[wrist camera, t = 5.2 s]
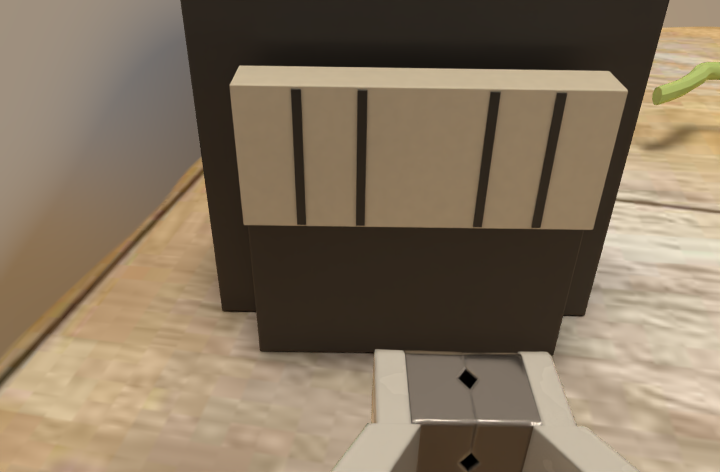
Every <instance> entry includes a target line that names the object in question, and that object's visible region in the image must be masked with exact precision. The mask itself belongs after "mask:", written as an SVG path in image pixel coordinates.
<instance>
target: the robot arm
mask: <svg viewBox="0 0 720 472" xmlns="http://www.w3.org/2000/svg"><path fill="white" fill-rule="evenodd" d="M331 472H640V471H639V470H638V469H637V468H636V467H634V466H633V465H632V464H631V463H630V462H628V461H627V460H626V459H625V458H624V457H622V456H621V455H620V454H619V453H618V452H616V451H615V450H614V449H613V448H612V447H610V446H609V445H608V444H607V443H606V442H604V441H603V440H602V439H601V438H600V437H598V436H597V435H596V434H595V433H594V432H592V431H591V430H590V429H589V428H588V427H586V426H577V424H576V421H575V419H574V416H573V413H572V411H571V408H570V405H569V402H568V400H567V397H566V394H565V392H564V389H563V386H562V383H561V381H560V378H559V375H558V373H557V370H556V367H555V365H554V362H553V359H552V356H551V355H550V354H549V353H548V352H518V353H517V352H452V351H425V350H404V351H403V350H383V349H375V351H374V363H373V384H372V412H371V423H368V424H367V425H366V426H365V428H364V429H363V430H362V432H361V433H360V434H359V435H358V437H357V438H356V439H355V441H354V442H353V443H352V444H351V446H350V447H349V448H348V450H347V451H346V452H345V453H344V455H343V456H342V457H341V459H340V460H339V461H338V463H337V464H336V465H335V466H334V468H333V469H332V470H331Z"/></svg>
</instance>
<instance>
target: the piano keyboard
mask: <svg viewBox="0 0 720 472" xmlns="http://www.w3.org/2000/svg"><path fill="white" fill-rule="evenodd" d="M229 86H230V96H231V106H232V115H233V125H234V135H235V145H236V155H237V164H238V174H239V184H240V194H241V204H242V213H243V223H244V225H277V226H350V227H424V228H497V229H570V230H593V227H594V223H595V219H596V215H597V211H598V207H599V204H600V200H601V196H602V192H603V188H604V184H605V180H606V176H607V172H608V168H609V164H610V160H611V156H612V153H613V149H614V145H615V141H616V137H617V133H618V129H619V125H620V121H621V117H622V113H623V109H624V105H625V101H626V98H627V94H628V90H627V89H626V88H625V87H624V86H623V85H622V84H621V83H620V82H619V81H618V80H617V79H616V78H615V77H614V76H613V74H612V73H611V72H610V71H574V70H506V69H438V68H371V67H303V66H239V67H238V69H237V71H236V73H235V75H234V77H233V79H232V81H231V83H230V85H229Z"/></svg>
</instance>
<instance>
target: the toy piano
mask: <svg viewBox="0 0 720 472" xmlns="http://www.w3.org/2000/svg"><path fill="white" fill-rule="evenodd" d="M180 1H181V8H182V15H183V22H184V30H185V37H186V45H187V51H188V60H189V67H190V74H191V82H192V89H193V96H194V103H195V111H196V119H197V126H198V133H199V141H200V148H201V156H202V163H203V170H204V178H205V185H206V192H207V200H208V207H209V215H210V222H211V229H212V237H213V244H214V252H215V259H216V266H217V274H218V281H219V288H220V296H221V303H222V309H223V310H225V311H256V313H257V323H258V334H259V344H260V350H261V351H317V352H374V351H375V349H383V350H403V351H404V350H425V351H452V352H517V353H518V352H548V353H549V354H554V350H555V346H556V342H557V338H558V334H559V330H560V326H561V322H562V318H563V315H585V311H586V308H587V304H588V300H589V296H590V293H591V289H592V285H593V282H594V278H595V274H596V271H597V267H598V263H599V259H600V256H601V252H602V248H603V245H604V241H605V237H606V233H607V230H608V226H609V222H610V219H611V215H612V211H613V208H614V204H615V200H616V196H617V193H618V189H619V185H620V182H621V178H622V174H623V170H624V167H625V163H626V159H627V156H628V152H629V148H630V144H631V141H632V137H633V133H634V130H635V126H636V122H637V119H638V115H639V111H640V107H641V104H642V100H643V96H644V93H645V89H646V85H647V81H648V78H649V74H650V70H651V67H652V63H653V59H654V56H655V52H656V48H657V44H658V41H659V37H660V33H661V30H662V26H663V22H664V18H665V15H666V11H667V7H668V3H669V0H180ZM239 66H303V67H371V68H438V69H506V70H574V71H610V72H611V73H612V74H613V76H614V77H615V78H616V79H617V80H618V81H619V82H620V83H621V84H622V85H623V86H624V87H625V88H626V89H627V90H628V94H627V98H626V101H625V105H624V109H623V113H622V117H621V121H620V125H619V129H618V133H617V137H616V141H615V145H614V149H613V153H612V156H611V160H610V164H609V168H608V172H607V176H606V180H605V184H604V188H603V192H602V196H601V200H600V204H599V207H598V211H597V215H596V219H595V223H594V227H593V230H570V229H497V228H424V227H350V226H277V225H244V223H243V213H242V204H241V194H240V184H239V174H238V164H237V155H236V145H235V135H234V125H233V115H232V106H231V96H230V86H229V85H230V83H231V81H232V79H233V77H234V75H235V73H236V71H237V69H238V67H239Z"/></svg>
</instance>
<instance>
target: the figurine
mask: <svg viewBox="0 0 720 472" xmlns="http://www.w3.org/2000/svg"><path fill="white" fill-rule="evenodd" d="M705 80H720V62H706V63H701V64H699V65H697V66H696V67H695V68H694V69H693V70H692V71H691V72H690V73H689V74H687V75H686V76H684V77H682V78H681V79H679V80H677V81H674V82H672V83H668V84H665V85H662V86H659V87H657V88H655V90H654V92H653V97H652V100H653V103H654V105H659V104H662V103H665V102H668V101H671V100H674V99H676V98H679V97H681V96H683V95H685V94H686V93H688V92H690V91H691V90H693V89H695V88H696V87H698V86H700V85H701V84H703V83H704V82H705Z"/></svg>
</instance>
